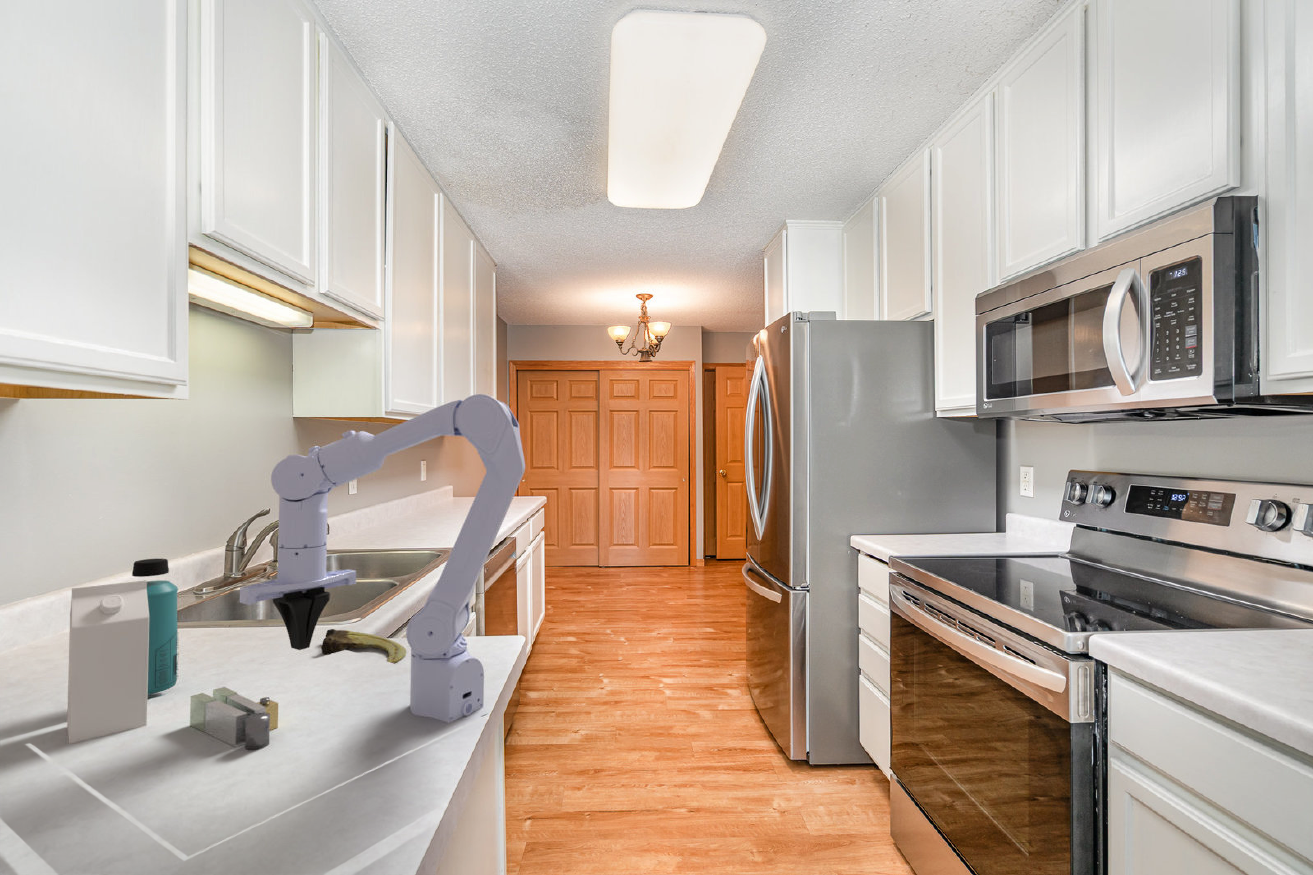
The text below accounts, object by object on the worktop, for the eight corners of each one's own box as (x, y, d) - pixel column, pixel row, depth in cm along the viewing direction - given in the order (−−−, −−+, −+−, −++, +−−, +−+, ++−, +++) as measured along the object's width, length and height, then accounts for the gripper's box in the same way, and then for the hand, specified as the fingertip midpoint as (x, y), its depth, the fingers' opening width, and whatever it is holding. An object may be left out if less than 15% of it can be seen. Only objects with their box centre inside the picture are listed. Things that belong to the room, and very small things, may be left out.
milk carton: (66, 736, 79) (70, 583, 79) (140, 719, 84) (143, 576, 84) (68, 756, 74) (72, 593, 74) (146, 737, 79) (150, 584, 79)
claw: (300, 654, 111) (301, 634, 112) (347, 638, 121) (348, 621, 121) (387, 671, 104) (388, 650, 105) (430, 653, 114) (430, 634, 114)
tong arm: (265, 736, 76) (266, 706, 76) (253, 740, 75) (254, 709, 75) (223, 714, 82) (224, 686, 82) (212, 718, 81) (212, 689, 81)
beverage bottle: (182, 697, 91) (185, 559, 91) (122, 712, 86) (126, 565, 86) (172, 686, 95) (175, 553, 96) (114, 699, 90) (118, 559, 91)
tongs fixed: (273, 746, 74) (274, 712, 74) (247, 756, 72) (248, 721, 72) (215, 719, 81) (216, 688, 81) (190, 727, 79) (190, 696, 79)
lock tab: (277, 727, 78) (278, 698, 78) (260, 733, 77) (261, 703, 77) (267, 722, 79) (268, 694, 80) (250, 728, 78) (251, 699, 78)
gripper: (335, 536, 93) (333, 629, 92) (228, 549, 80) (225, 657, 80) (366, 541, 89) (363, 637, 89) (258, 555, 76) (255, 667, 76)
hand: (300, 647), depth 84 cm, fingers closed
